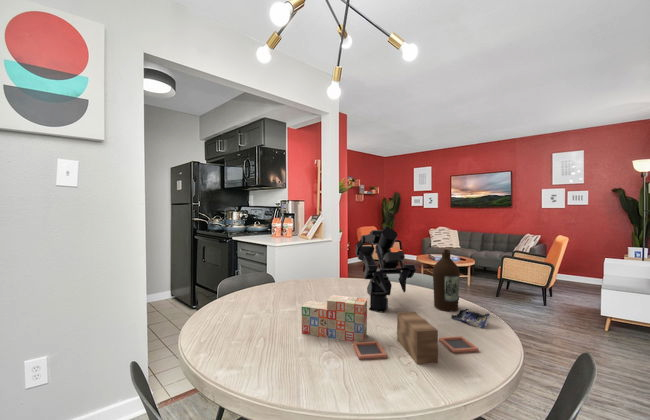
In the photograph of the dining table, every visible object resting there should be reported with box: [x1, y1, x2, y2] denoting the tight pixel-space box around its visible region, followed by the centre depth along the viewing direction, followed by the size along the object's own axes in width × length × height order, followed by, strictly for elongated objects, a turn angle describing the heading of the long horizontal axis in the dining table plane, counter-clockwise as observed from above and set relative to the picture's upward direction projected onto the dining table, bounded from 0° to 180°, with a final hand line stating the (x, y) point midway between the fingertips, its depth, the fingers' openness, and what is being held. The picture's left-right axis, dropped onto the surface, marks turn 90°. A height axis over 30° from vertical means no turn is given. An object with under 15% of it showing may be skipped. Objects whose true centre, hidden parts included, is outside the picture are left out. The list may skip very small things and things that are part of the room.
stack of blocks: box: [301, 294, 368, 343], centre depth 94 cm, size 21×6×12 cm, turn 71°
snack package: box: [450, 308, 490, 329], centre depth 105 cm, size 12×6×12 cm
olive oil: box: [432, 248, 461, 312], centre depth 120 cm, size 11×11×25 cm
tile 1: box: [352, 340, 388, 361], centre depth 82 cm, size 8×8×1 cm
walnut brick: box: [396, 311, 439, 365], centre depth 83 cm, size 14×6×9 cm, turn 7°
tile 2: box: [438, 335, 480, 355], centre depth 86 cm, size 8×8×1 cm
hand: (395, 292), depth 99 cm, fingers open, 6 cm apart
